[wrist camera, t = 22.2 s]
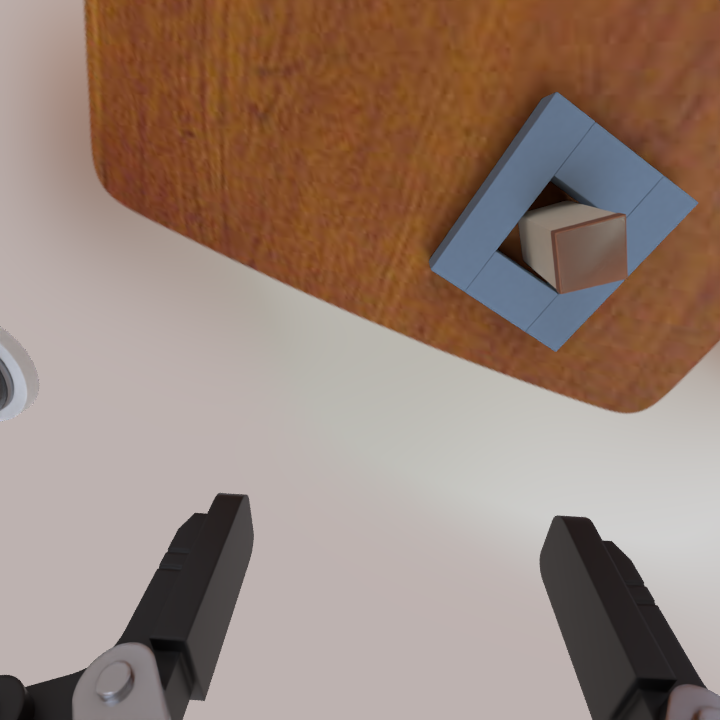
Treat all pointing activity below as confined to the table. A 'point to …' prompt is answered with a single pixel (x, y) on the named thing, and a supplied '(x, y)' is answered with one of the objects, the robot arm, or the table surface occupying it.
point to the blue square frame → (582, 182)
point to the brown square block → (575, 245)
